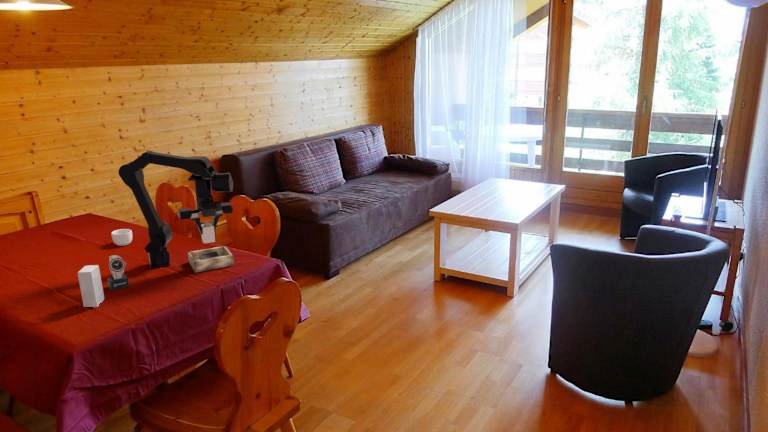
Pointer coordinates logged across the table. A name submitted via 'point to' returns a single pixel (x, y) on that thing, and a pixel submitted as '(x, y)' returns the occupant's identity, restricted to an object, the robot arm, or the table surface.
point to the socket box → (210, 259)
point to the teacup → (122, 237)
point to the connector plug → (208, 232)
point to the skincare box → (91, 286)
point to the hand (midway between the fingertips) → (207, 233)
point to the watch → (117, 273)
